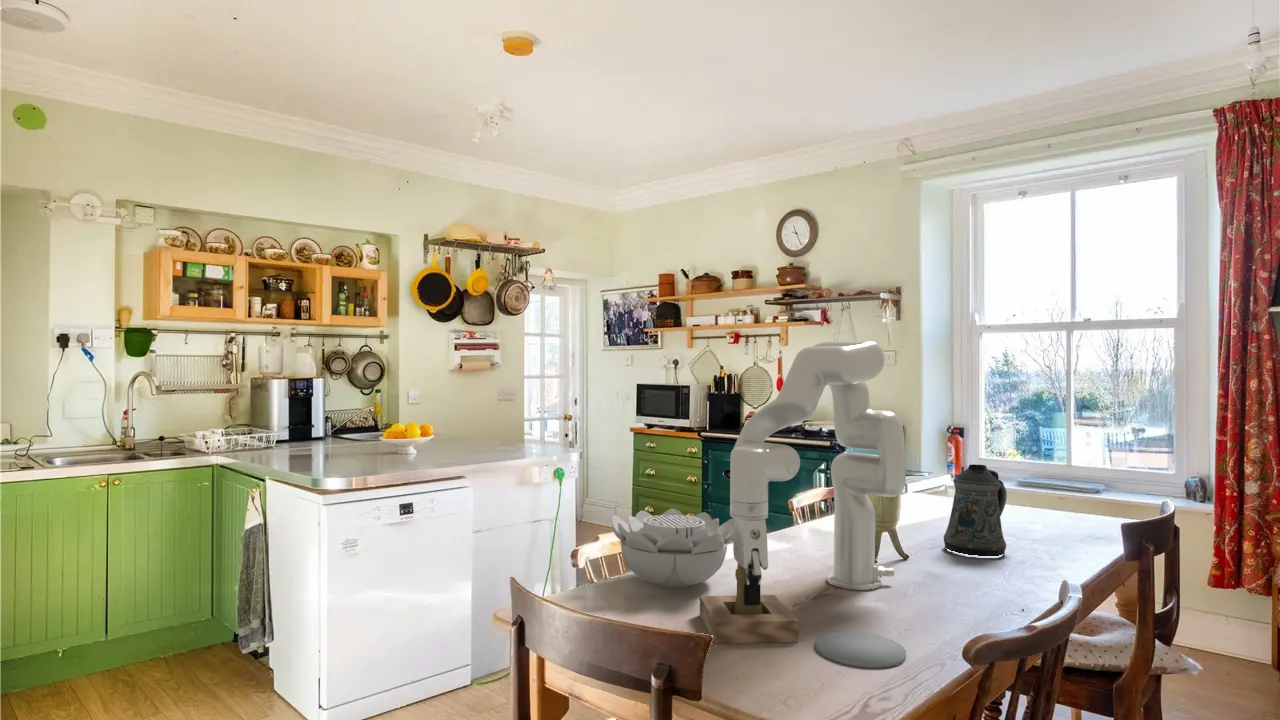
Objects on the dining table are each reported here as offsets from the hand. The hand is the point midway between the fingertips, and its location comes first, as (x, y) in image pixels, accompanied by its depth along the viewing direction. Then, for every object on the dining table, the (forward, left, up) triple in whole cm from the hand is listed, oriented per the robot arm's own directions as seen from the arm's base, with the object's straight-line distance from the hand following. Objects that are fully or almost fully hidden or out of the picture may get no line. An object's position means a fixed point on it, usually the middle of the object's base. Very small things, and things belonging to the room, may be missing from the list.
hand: (748, 599), depth 148 cm
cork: (0, 0, -5) cm, 5 cm away
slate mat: (-18, +13, -6) cm, 23 cm away
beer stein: (-83, -59, -6) cm, 102 cm away
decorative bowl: (+9, -32, -6) cm, 34 cm away
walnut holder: (0, 0, -6) cm, 6 cm away
